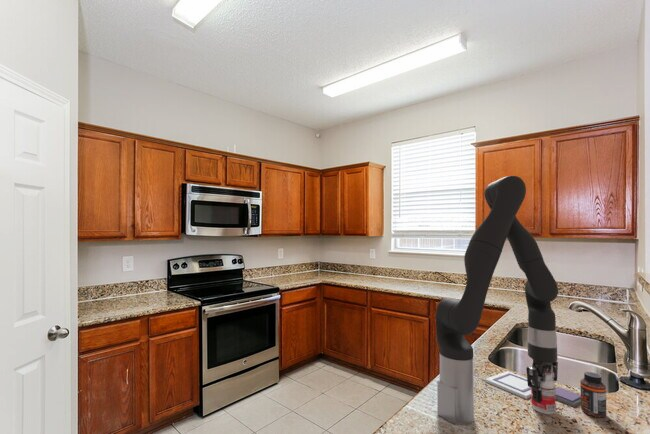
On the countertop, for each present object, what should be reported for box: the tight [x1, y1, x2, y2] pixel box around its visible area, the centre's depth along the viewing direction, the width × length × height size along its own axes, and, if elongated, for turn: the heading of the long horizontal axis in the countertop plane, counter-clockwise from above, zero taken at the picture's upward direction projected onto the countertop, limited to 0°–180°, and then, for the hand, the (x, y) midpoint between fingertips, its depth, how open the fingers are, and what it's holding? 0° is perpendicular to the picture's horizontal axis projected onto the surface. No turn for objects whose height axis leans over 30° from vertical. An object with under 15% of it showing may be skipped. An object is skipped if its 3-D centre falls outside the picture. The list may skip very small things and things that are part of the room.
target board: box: [484, 370, 531, 400], centre depth 114 cm, size 14×14×1 cm
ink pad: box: [555, 386, 581, 408], centre depth 105 cm, size 8×8×2 cm
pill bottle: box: [530, 373, 557, 415], centre depth 99 cm, size 6×6×11 cm
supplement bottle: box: [579, 371, 607, 419], centre depth 97 cm, size 6×6×11 cm
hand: (543, 398), depth 98 cm, fingers closed on pill bottle, 6 cm apart
